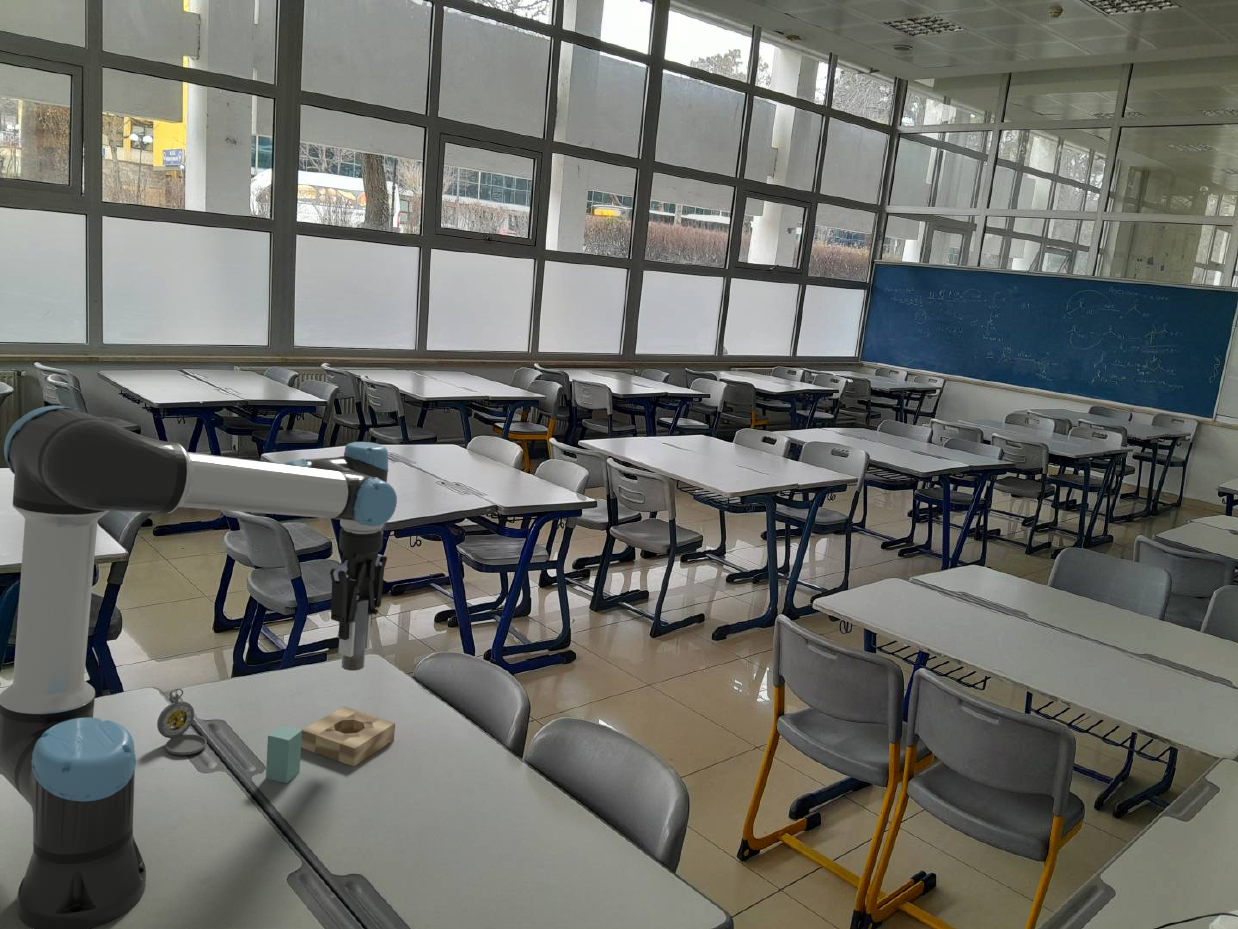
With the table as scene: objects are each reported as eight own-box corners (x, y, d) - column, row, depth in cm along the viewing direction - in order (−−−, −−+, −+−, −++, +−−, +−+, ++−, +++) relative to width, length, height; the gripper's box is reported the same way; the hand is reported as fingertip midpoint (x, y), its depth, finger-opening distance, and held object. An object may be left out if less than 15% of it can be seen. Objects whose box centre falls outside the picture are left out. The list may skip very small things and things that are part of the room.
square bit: (286, 783, 158) (289, 740, 157) (265, 778, 159) (267, 735, 158) (299, 772, 162) (301, 730, 161) (279, 767, 163) (281, 725, 161)
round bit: (354, 672, 168) (359, 604, 166) (337, 667, 170) (341, 599, 167) (368, 665, 172) (373, 599, 170) (351, 660, 173) (355, 594, 171)
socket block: (353, 766, 166) (354, 748, 165) (300, 747, 170) (301, 730, 170) (393, 740, 177) (395, 723, 176) (343, 722, 181) (344, 706, 181)
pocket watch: (195, 759, 162) (197, 706, 160) (148, 754, 162) (149, 701, 160) (216, 737, 170) (218, 687, 169) (171, 732, 170) (173, 681, 169)
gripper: (348, 542, 157) (340, 671, 161) (407, 523, 172) (398, 641, 177) (312, 533, 160) (305, 660, 164) (374, 516, 175) (366, 632, 179)
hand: (354, 650), depth 170 cm, fingers closed on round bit, 4 cm apart
